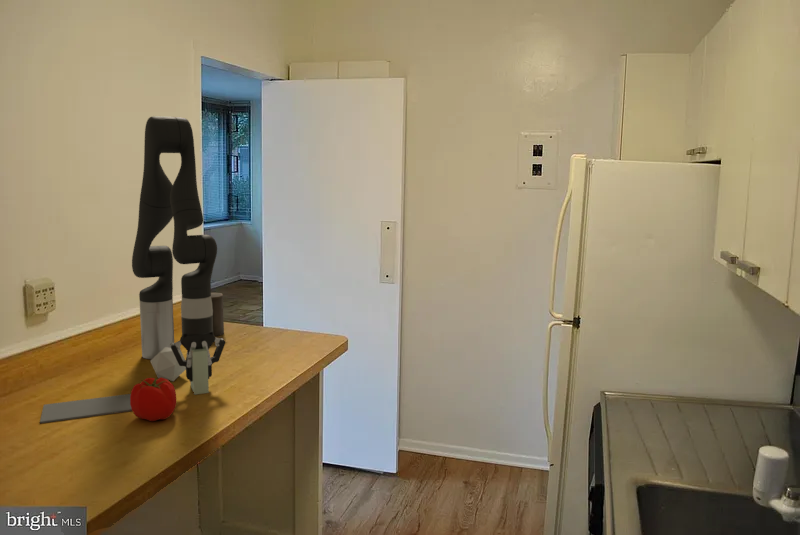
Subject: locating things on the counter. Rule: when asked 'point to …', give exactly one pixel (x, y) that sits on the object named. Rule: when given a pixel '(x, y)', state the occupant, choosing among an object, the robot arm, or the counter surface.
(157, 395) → the tomato
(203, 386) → the slab
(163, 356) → the die
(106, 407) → the mat
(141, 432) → the counter surface
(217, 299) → the pillar candle
